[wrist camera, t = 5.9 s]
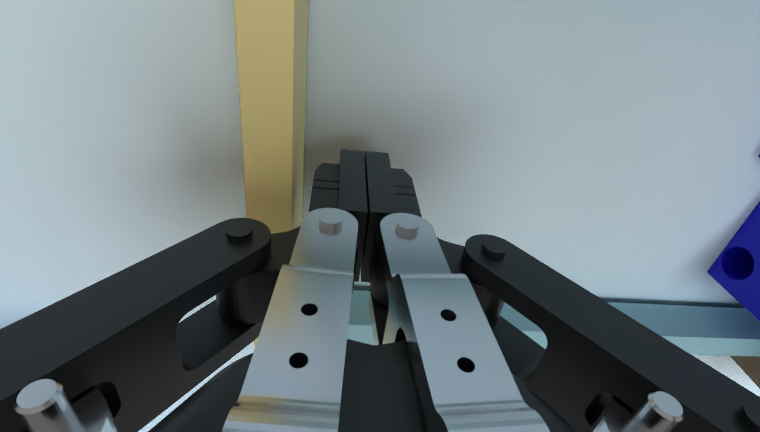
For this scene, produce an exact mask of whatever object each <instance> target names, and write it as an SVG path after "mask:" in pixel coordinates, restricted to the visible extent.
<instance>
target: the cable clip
mask: <svg viewBox="0 0 760 432" xmlns="http://www.w3.org/2000/svg"><path fill="white" fill-rule="evenodd" d="M759 157H760V155H759ZM707 273H709V274H710V275H711V276H712V277H713V278H714V279H715V280H716V281H717V282H718V283H719V284H720V285H721V286H722V287H723V288H724V289H726V290H727V291H728V292H729V293H730V294H731V295H732V296H733V297H734V298H735V299H736V300H737V301H738V302H739V303H740V304H741V305H743V306H744V307H745V308H746V309H747V310H748V311H749V312H750V313H751V314H752V315H753V316H754V317H755V318H756V319H757V320H759V321H760V202H759V203H758V205H757V206H756V207H755V209H754V210H753V211H752V213H751V214H750V215H749V217H748V218H747V219H746V221H745V222H744V223H743V225H742V226H741V227H740V229H739V230H738V231H737V233H736V234H735V235H734V237H733V238H732V239H731V241H730V242H729V243H728V245H727V246H726V247H725V249H724V250H723V251H722V253H721V254H720V255H719V257H718V258H717V259H716V261H715V262H714V263H713V265H712V266H711V267H710V269H709V270H708V271H707Z"/></svg>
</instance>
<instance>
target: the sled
mask: <svg viewBox="0 0 760 432" xmlns="http://www.w3.org/2000/svg"><path fill="white" fill-rule="evenodd" d="M234 13H235V29H236V46H237V62H238V79H239V96H240V112H241V129H242V145H243V162H244V178H245V195H246V212H247V218H250V219H255V220H258V221H260V222H262V223H264V224H265V225H267V226H268V228H269V229H270V232H271V234H273V233H280V232H286V231H290V230H293V229H295V228H297V227H299V226H301V224H302V207H303V173H304V138H305V103H306V68H307V34H308V0H234ZM369 295H370V291H362V290H353V293H352V295H351V304H350V314H349V324H348V334H347V339H350V340H354V341H358V342H362V343H366V344H370V345H374V338H373V332H372V325H371V319H370V312H369V305H368V302H369ZM607 303H608V304H610V305H612V306H613V307H615V308H616V309H618V310H620V311H621V312H623V313H625V314H626V315H628V316H629V317H631V318H633V319H634V320H636V321H637V322H639V323H641V324H642V325H644V326H646V327H647V328H649V329H650V330H652V331H654V332H655V333H657V334H658V335H660V336H662V337H663V338H665V339H667V340H668V341H670V342H671V343H673V344H675V345H676V346H678V347H679V348H681V349H683V350H684V351H686V352H688V353H689V354H693V355H725V356H758V357H760V321H759V320H757V319H756V318H755V317H754V316H753V315H752V314H751V313H750V312H749V311H748V310H747V309H746V308H745V307H744V308H725V307H703V306H682V305H661V304H639V303H618V302H607ZM500 316H502V317H503V318H504V319H506V320H507V321H508V322H510V323H511V324H512V325H514V326H515V327H516V328H518V329H519V330H520V331H522V332H523V333H524V334H526V335H527V336H528V337H530V338H531V339H532V340H534V341H535V342H536V343H538V344H539V345H540V346H542V347H543V348H545V349H546V347H547V338H546V336H545V334H544V332H543V331H542V330H541V329H540V328H539V327H538V326H537V325H535V324H534V323H533V322H531V321H530V320H529V319H527V318H526V317H524V316H523V315H522V314H520V313H519V312H517V311H516V310H515V309H513V308H512V307H511V306H509V305H508V304H506V303H505V304H504V306H503V309H502V311H501V313H500ZM257 341H258V338H256V339H255V340H254V344H255V347H256V344H257Z"/></svg>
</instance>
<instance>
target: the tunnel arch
mask: <svg viewBox="0 0 760 432" xmlns="http://www.w3.org/2000/svg"><path fill="white" fill-rule="evenodd" d="M731 358H732V359H733V360H734V361H735V362H736V363H737V364H738V365H739V366H740V367H741V369H742V370H743V371H744V372H745V373H746V374H747V375H748V376H749V377H750V378H751V380H752V381H753V382H754V383H755V384H756V385H757V386H758V387H759V388H760V357H758V356H731Z"/></svg>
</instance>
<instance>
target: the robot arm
mask: <svg viewBox="0 0 760 432" xmlns="http://www.w3.org/2000/svg"><path fill="white" fill-rule="evenodd" d="M360 267H361V282H370V288H371V289H370V295H369V302H368V305H369V312H370V319H371V325H372V332H373V338H374V345H370V344H366V343H362V342H358V341H354V340H350V339H347V334H348V324H349V314H350V304H351V295H352V293H353V288H354V281H357V282H359V275H360ZM214 295H216V300H214V301H213V302H211V303H210V304H208V305H206V306H205V307H203V308H202V309H200V310H199V311H197V312H195V313H194V314H192V315H191V316H189V317H188V318H186V319H185V320H183V321H181V322H180V323H179V321H180V320H181V319H182V317H183V316H184V315H185V314H187V313H188V312H189V311H191V310H192V309H194V308H195V307H197V306H199V305H200V304H202V303H203V302H205V301H207V300H208V299H210V298H211V297H213V296H214ZM505 303H506V304H508V305H509V306H511V307H512V308H513V309H515V310H516V311H517V312H519V313H520V314H522V315H523V316H524V317H526V318H527V319H529V320H530V321H531V322H533V323H534V324H535V325H537V326H538V327H539V328H540V329H541V330H542V331H543V332H544V334H545V336H546V338H547V347H546V349H545V348H543V347H542V346H540V345H539V344H538V343H536V342H535V341H534V340H532V339H531V338H530V337H528V336H527V335H526V334H524V333H523V332H522V331H520V330H519V329H518V328H516V327H515V326H514V325H512V324H511V323H510V322H508V321H507V320H506V319H504V318H503V317H502V316H500V313H501V311H502V309H503V306H504V304H505ZM256 338H258V341H257V344H256V347H255V350H254V353H252V354H250V355H247V356H245V357H243V358H241V359H239V360H237V361H235V362H233V363H232V364H230V365H229V366H227V367H226V368H224V369H223V370H221V371H220V372H219V373H217V374H216V375H215V376H214V377H213V378H211V379H210V380H209V381H208V382H207V383H205V384H204V385H203V386H202V387H201V388H200V389H198V390H197V391H196V392H195V393H194V394H192V395H191V396H190V397H189V398H188V399H186V400H185V401H184V402H183V403H182V404H181V405H179V406H178V407H177V408H176V409H175V410H173V411H172V412H171V413H170V414H169V415H167V416H166V417H165V418H164V419H163V420H162V421H160V422H159V423H158V424H157V425H156V426H154V427H153V428H152V429H151V430H150V431H148V432H760V397H759V396H757V395H755V394H754V393H752V392H751V391H749V390H747V389H746V388H744V387H743V386H741V385H739V384H738V383H736V382H734V381H733V380H731V379H730V378H728V377H726V376H725V375H723V374H722V373H720V372H718V371H717V370H715V369H713V368H712V367H710V366H709V365H707V364H705V363H704V362H702V361H700V360H699V359H697V358H696V357H694V356H692V355H691V354H689V353H688V352H686V351H684V350H683V349H681V348H679V347H678V346H676V345H675V344H673V343H671V342H670V341H668V340H667V339H665V338H663V337H662V336H660V335H658V334H657V333H655V332H654V331H652V330H650V329H649V328H647V327H646V326H644V325H642V324H641V323H639V322H637V321H636V320H634V319H633V318H631V317H629V316H628V315H626V314H625V313H623V312H621V311H620V310H618V309H616V308H615V307H613V306H612V305H610V304H608V303H607V302H605V301H603V300H602V299H600V298H599V297H597V296H595V295H594V294H592V293H591V292H589V291H587V290H586V289H584V288H582V287H581V286H579V285H578V284H576V283H574V282H573V281H571V280H570V279H568V278H566V277H565V276H563V275H561V274H560V273H558V272H557V271H555V270H553V269H552V268H550V267H549V266H547V265H545V264H544V263H542V262H540V261H539V260H537V259H536V258H534V257H532V256H531V255H529V254H528V253H526V252H524V251H523V250H521V249H519V248H518V247H516V246H515V245H513V244H511V243H510V242H508V241H506V240H504V239H502V238H499V237H496V236H492V235H485V234H481V235H475V236H472V237H470V238H469V239H468V240H467V241H466V244H465V247H464V246H460V245H456V244H453V243H449V242H446V241H443V240H441V239H439V238H437V237H436V234H435V232H434V229H433V227H432V226H431V224H430V223H429V222H428V221H426V220H425V219H423V218H422V217H421V213H420V209H419V205H418V201H417V197H416V193H415V189H414V185H413V181H412V178H411V177H410V176H409V175H408V174H407V173H406V172H405V171H404V170H403V169H393V168H391V167H390V161H389V155H388V153H382V152H371V151H365V154H364V151H358V150H347V149H341V152H340V164H331V163H322V164H321V165H320V166H319V167H318V168H317V169H316V170H315V174H314V181H313V188H312V194H311V200H310V207H309V213H308V214H306V215H305V216H304V218H303V220H302V224H301V226H299V227H297V228H295V229H293V230H290V231H286V232H280V233H273V234H271V232H270V229H269V228H268V226H267V225H265V224H264V223H262V222H260V221H258V220H255V219H250V218H234V219H229V220H226V221H223V222H221V223H218V224H216V225H214V226H212V227H210V228H208V229H206V230H204V231H202V232H200V233H198V234H196V235H194V236H192V237H190V238H188V239H185V240H183V241H181V242H179V243H177V244H175V245H173V246H171V247H169V248H167V249H165V250H163V251H161V252H159V253H157V254H155V255H153V256H150V257H148V258H146V259H144V260H142V261H140V262H138V263H136V264H134V265H132V266H130V267H128V268H126V269H124V270H122V271H120V272H118V273H115V274H113V275H111V276H109V277H107V278H105V279H103V280H101V281H99V282H97V283H95V284H93V285H91V286H89V287H87V288H85V289H83V290H81V291H78V292H76V293H74V294H72V295H70V296H68V297H66V298H64V299H62V300H60V301H58V302H56V303H54V304H52V305H50V306H48V307H46V308H43V309H41V310H39V311H37V312H35V313H33V314H31V315H29V316H27V317H25V318H23V319H21V320H19V321H17V322H15V323H13V324H11V325H9V326H6V327H4V328H2V329H0V432H138V431H139V430H140V429H142V428H143V427H144V426H145V425H147V424H148V423H149V422H151V421H152V420H153V419H154V418H156V417H157V416H158V415H160V414H161V413H162V412H163V411H165V410H166V409H167V408H168V407H170V406H171V405H172V404H174V403H175V402H176V401H177V400H179V399H180V398H181V397H182V396H184V395H185V394H186V393H188V392H189V391H190V390H191V389H193V388H194V387H195V386H196V385H198V384H199V383H200V382H202V381H203V380H204V379H205V378H207V377H208V376H209V375H210V374H212V373H213V372H214V371H216V370H217V369H218V368H219V367H221V366H222V365H223V364H225V363H226V362H227V361H228V360H230V359H231V358H232V357H233V356H235V355H236V354H237V353H239V352H240V351H241V350H242V349H244V348H245V347H246V346H247V345H249V344H250V343H251V342H253V341H254V340H255V339H256Z"/></svg>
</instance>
